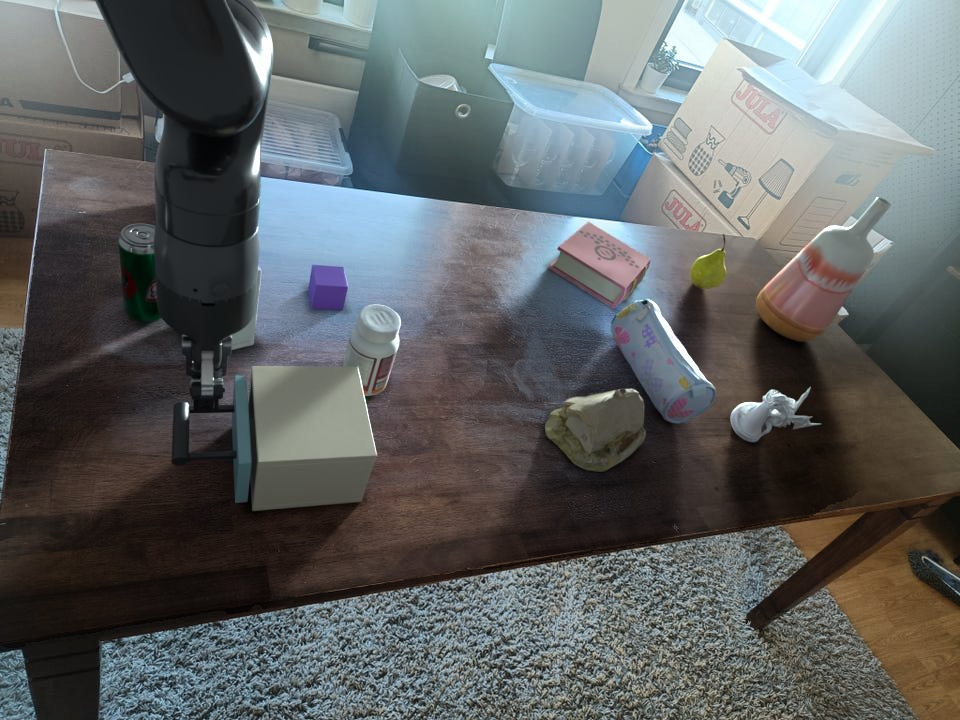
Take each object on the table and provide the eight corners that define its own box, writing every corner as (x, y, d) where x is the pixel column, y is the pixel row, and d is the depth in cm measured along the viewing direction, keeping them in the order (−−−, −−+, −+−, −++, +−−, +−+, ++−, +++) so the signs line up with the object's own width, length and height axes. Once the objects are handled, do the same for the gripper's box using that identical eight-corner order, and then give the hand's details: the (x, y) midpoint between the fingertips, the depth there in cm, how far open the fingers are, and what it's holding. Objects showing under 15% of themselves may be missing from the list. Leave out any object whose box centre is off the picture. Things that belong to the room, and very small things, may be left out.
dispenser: (252, 511, 66) (258, 462, 60) (246, 417, 74) (251, 365, 68) (361, 501, 70) (377, 455, 65) (345, 414, 78) (358, 366, 73)
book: (617, 311, 114) (630, 290, 111) (548, 267, 117) (558, 246, 114) (642, 281, 125) (654, 261, 121) (578, 242, 128) (588, 221, 124)
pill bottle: (383, 364, 86) (401, 302, 79) (389, 398, 82) (409, 337, 75) (338, 362, 84) (352, 298, 77) (342, 397, 80) (357, 334, 73)
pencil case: (600, 333, 108) (625, 291, 101) (641, 335, 111) (668, 294, 105) (653, 430, 94) (686, 388, 88) (698, 428, 98) (733, 388, 92)
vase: (750, 329, 125) (854, 201, 105) (747, 291, 136) (841, 169, 116) (817, 359, 124) (933, 236, 105) (809, 319, 135) (913, 201, 116)
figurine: (718, 413, 102) (762, 362, 94) (752, 412, 105) (798, 363, 97) (754, 468, 95) (806, 419, 87) (790, 465, 98) (843, 417, 91)
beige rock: (578, 482, 82) (612, 435, 76) (532, 418, 88) (560, 369, 82) (649, 454, 90) (685, 410, 84) (602, 397, 96) (633, 351, 89)
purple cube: (311, 309, 90) (315, 284, 87) (308, 288, 93) (312, 264, 90) (343, 310, 92) (348, 286, 89) (338, 290, 95) (343, 266, 92)
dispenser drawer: (171, 508, 62) (170, 467, 58) (174, 418, 70) (173, 375, 65) (337, 494, 69) (347, 457, 64) (324, 414, 76) (333, 375, 72)
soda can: (155, 330, 78) (152, 252, 71) (115, 316, 78) (107, 237, 70) (176, 306, 82) (175, 230, 74) (138, 293, 82) (133, 216, 74)
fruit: (719, 291, 132) (752, 244, 124) (705, 300, 127) (739, 252, 119) (692, 271, 134) (724, 225, 126) (678, 280, 130) (710, 232, 122)
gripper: (158, 213, 53) (165, 357, 64) (150, 322, 44) (160, 465, 56) (253, 222, 56) (243, 357, 67) (262, 324, 47) (250, 459, 59)
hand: (205, 406), depth 61 cm, fingers closed
